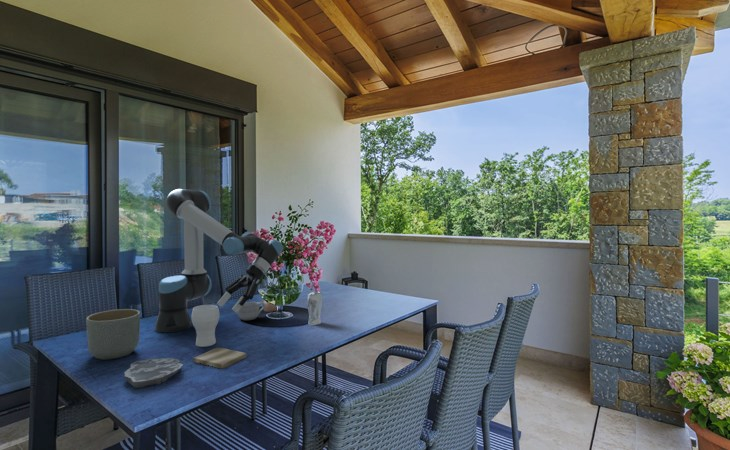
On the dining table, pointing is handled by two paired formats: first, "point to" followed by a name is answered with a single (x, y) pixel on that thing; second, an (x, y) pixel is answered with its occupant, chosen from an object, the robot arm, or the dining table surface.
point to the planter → (113, 333)
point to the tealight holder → (269, 307)
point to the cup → (205, 324)
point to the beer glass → (314, 307)
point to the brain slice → (152, 371)
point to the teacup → (250, 310)
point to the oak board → (220, 357)
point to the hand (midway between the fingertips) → (226, 308)
